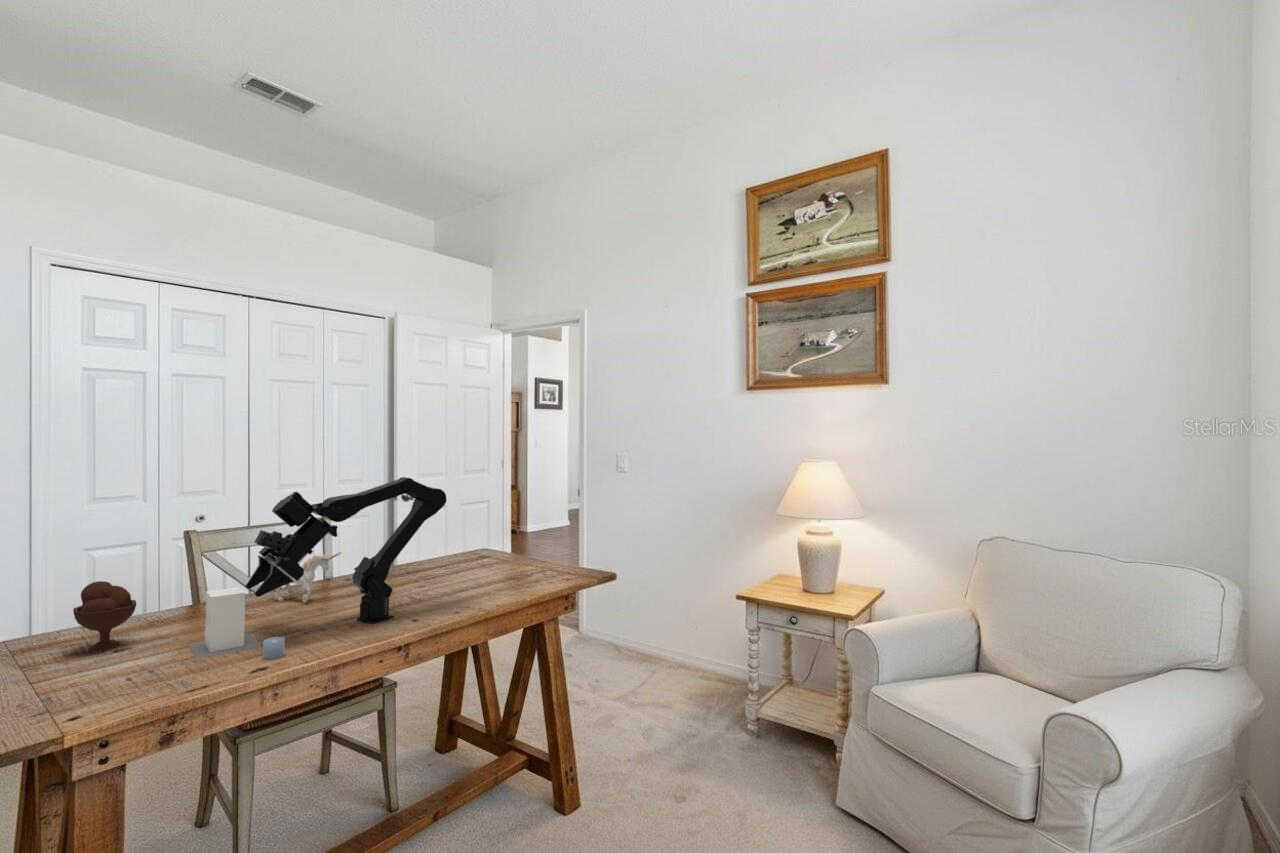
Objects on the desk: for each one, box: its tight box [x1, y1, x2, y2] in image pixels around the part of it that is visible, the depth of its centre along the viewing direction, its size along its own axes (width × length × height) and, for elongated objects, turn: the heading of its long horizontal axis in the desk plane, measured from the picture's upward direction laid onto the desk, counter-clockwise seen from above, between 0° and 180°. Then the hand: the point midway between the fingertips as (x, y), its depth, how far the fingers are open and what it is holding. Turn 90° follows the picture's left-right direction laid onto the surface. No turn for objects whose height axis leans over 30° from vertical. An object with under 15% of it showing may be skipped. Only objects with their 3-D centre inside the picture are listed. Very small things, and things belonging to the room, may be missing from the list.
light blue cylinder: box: [262, 636, 286, 661], centre depth 135 cm, size 4×4×4 cm
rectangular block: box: [204, 586, 246, 652], centre depth 141 cm, size 6×6×12 cm
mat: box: [187, 632, 262, 660], centre depth 141 cm, size 12×12×1 cm
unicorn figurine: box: [269, 551, 343, 604], centre depth 179 cm, size 7×20×13 cm, turn 97°
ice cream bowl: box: [72, 580, 138, 653], centre depth 139 cm, size 11×11×15 cm
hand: (251, 591), depth 144 cm, fingers open, 9 cm apart
